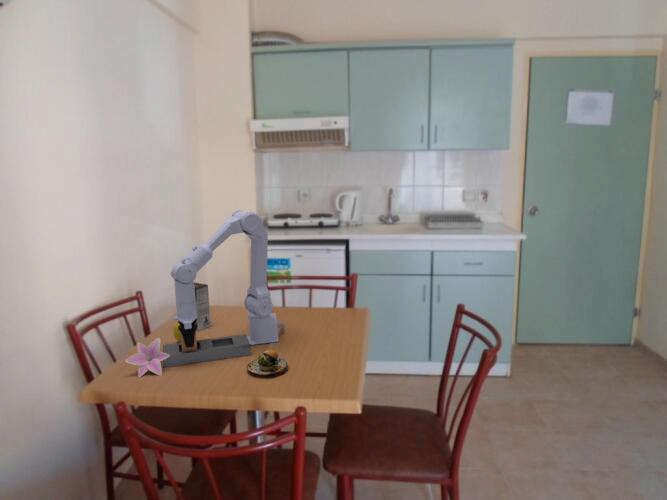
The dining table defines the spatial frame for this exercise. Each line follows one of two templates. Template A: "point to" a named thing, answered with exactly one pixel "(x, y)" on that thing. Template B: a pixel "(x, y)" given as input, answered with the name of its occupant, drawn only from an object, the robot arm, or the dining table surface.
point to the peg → (188, 347)
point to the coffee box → (202, 306)
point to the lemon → (177, 333)
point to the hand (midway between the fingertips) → (189, 344)
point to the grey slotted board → (207, 350)
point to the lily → (148, 358)
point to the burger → (268, 364)
